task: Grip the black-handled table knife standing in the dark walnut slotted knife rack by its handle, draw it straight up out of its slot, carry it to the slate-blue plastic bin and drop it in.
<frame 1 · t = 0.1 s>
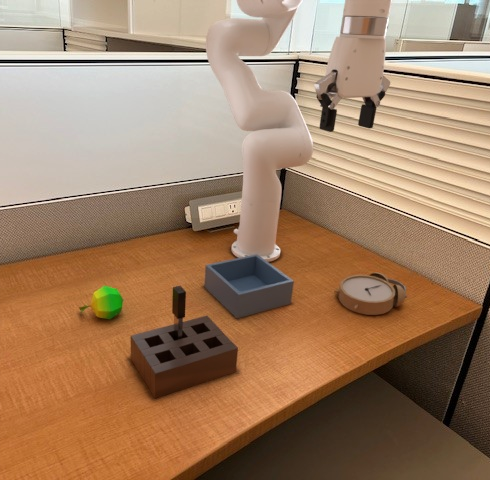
hand: (346, 128, 90), 37 cm above the table, tool pointing down, fingers open, 9 cm apart
alarm clock: (371, 301, 105), on the table
bin: (246, 295, 105), on the table
knife: (177, 357, 84), resting in knife rack
knife rack: (182, 365, 83), on the table
apple: (101, 317, 95), on the table
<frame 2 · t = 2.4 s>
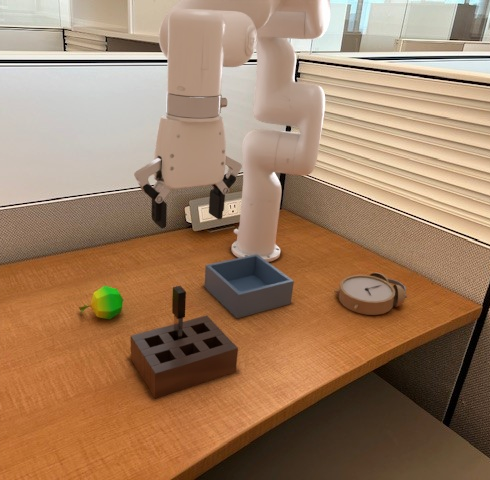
hand: (188, 220, 74), 26 cm above the table, tool pointing down, fingers open, 9 cm apart
nothing on the table moved.
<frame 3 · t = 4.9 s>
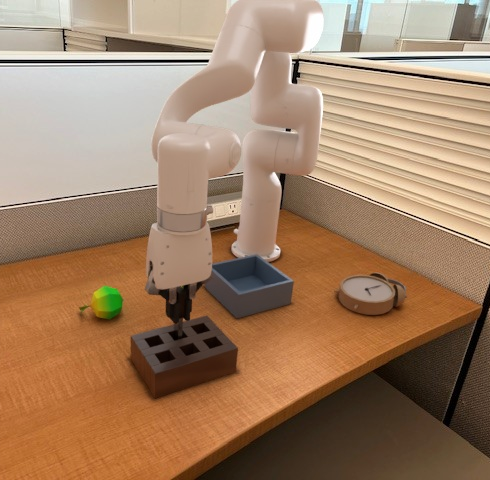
hand: (178, 317, 81), 9 cm above the table, tool pointing down, fingers closed on knife, 1 cm apart
knife: (177, 357, 84), resting in knife rack, touching gripper
everything else where it was.
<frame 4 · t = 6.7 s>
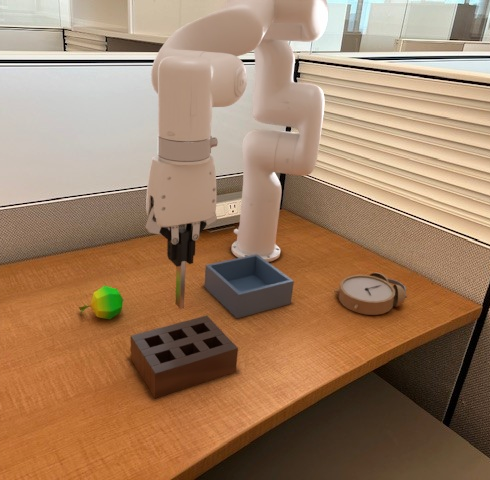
hand: (181, 260, 77), 19 cm above the table, tool pointing down, fingers closed on knife, 1 cm apart
knife: (179, 305, 80), point 11 cm above the table, touching gripper
everything else where it was.
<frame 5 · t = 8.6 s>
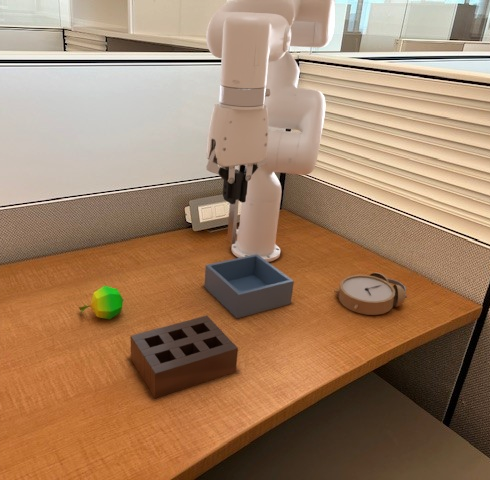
hand: (234, 200, 87), 25 cm above the table, tool pointing down, fingers closed on knife, 1 cm apart
knife: (231, 242, 91), point 16 cm above the table, touching gripper
everything else where it was.
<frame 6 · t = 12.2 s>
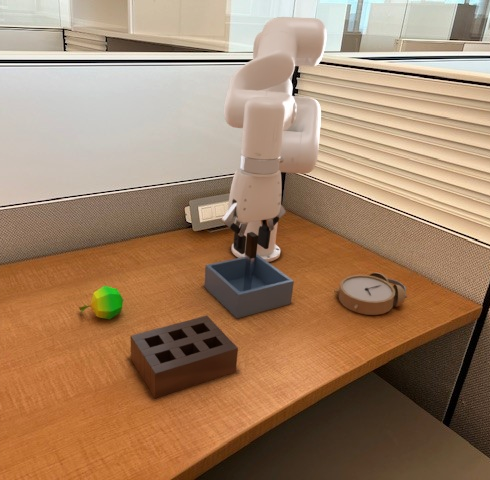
hand: (251, 248, 100), 11 cm above the table, tool pointing down, fingers open, 5 cm apart
knife: (246, 292, 104), point 1 cm above the table, touching bin
everything else where it was.
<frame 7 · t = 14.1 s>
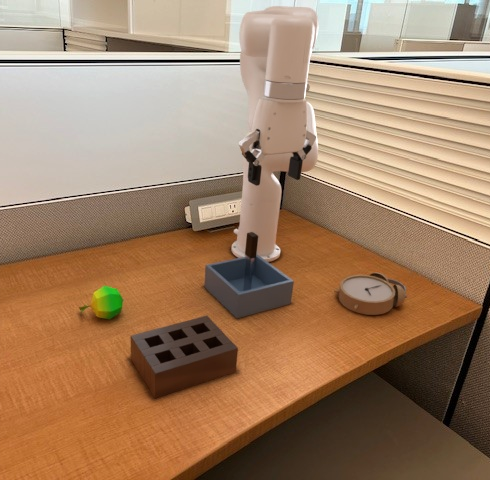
hand: (274, 180, 95), 26 cm above the table, tool pointing down, fingers open, 9 cm apart
nothing on the table moved.
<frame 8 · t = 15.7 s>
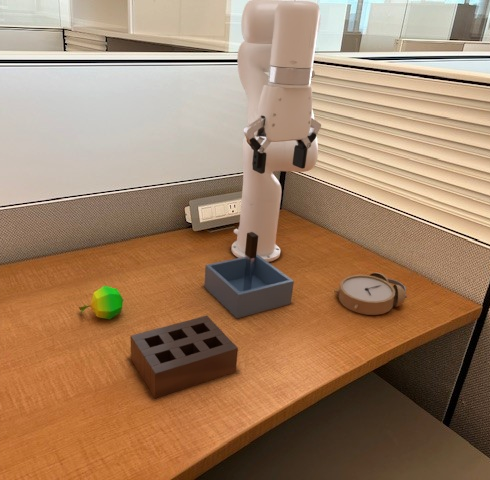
hand: (278, 169, 94), 28 cm above the table, tool pointing down, fingers open, 9 cm apart
nothing on the table moved.
at the end: knife inside the target area in the bin (0.0 cm from its centre), point 0.6 cm above the bin's base; knife moved 26.4 cm from its start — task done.
